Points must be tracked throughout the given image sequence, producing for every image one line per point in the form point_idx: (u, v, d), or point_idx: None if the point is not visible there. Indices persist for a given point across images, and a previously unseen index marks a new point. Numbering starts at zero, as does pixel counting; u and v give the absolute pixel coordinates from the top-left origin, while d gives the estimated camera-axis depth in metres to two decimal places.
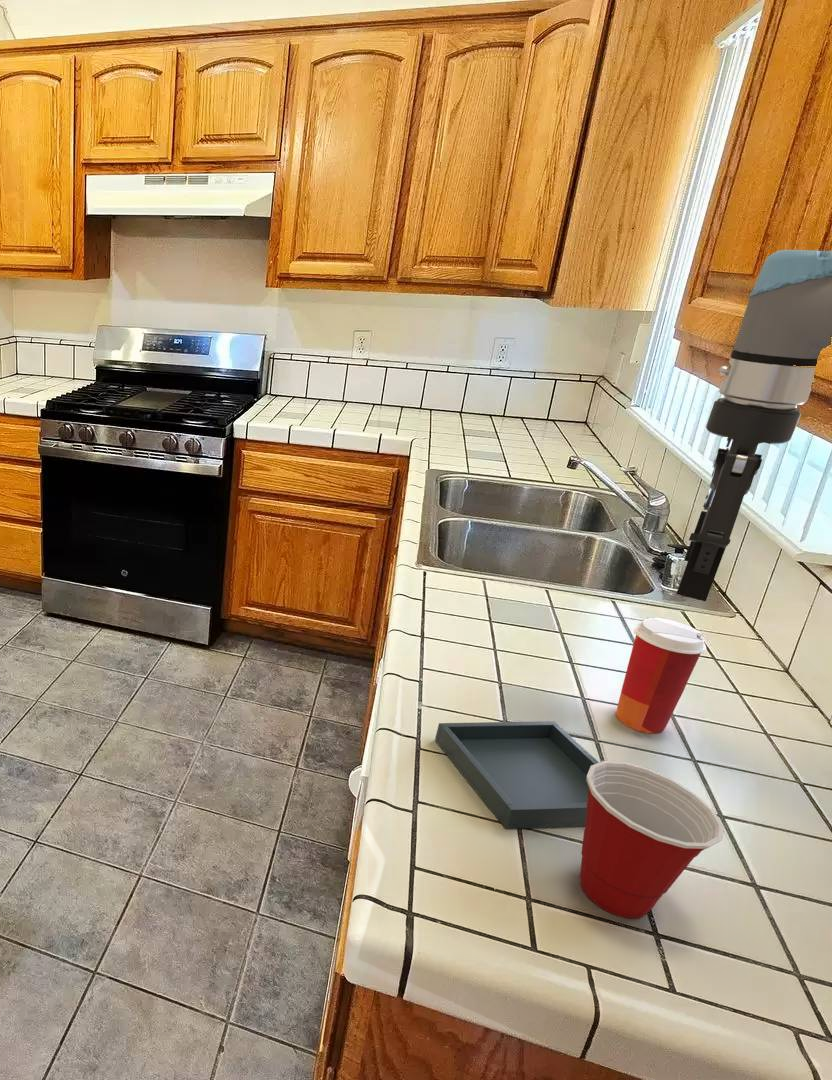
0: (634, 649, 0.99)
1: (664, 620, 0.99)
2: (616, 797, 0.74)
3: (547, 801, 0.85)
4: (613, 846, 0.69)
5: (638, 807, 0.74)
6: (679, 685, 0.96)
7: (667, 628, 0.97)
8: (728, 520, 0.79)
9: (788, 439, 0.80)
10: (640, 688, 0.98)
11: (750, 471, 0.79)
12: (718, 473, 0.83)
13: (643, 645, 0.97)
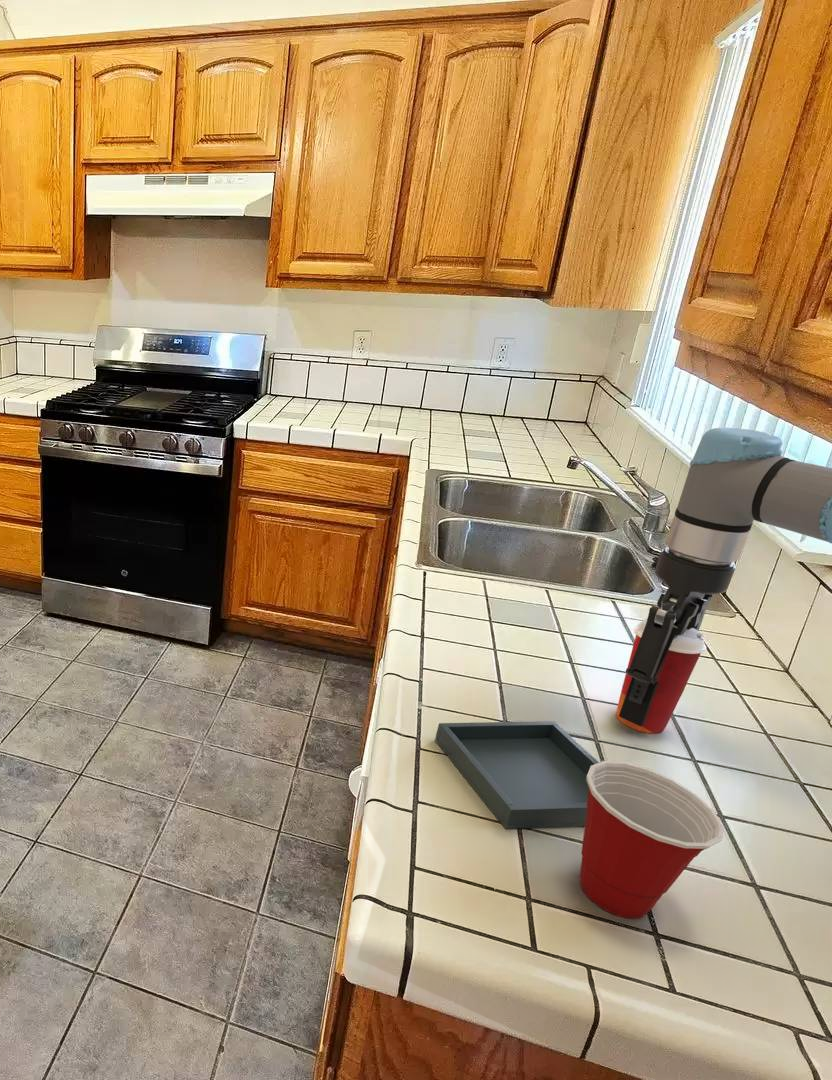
0: (634, 649, 0.99)
1: None
2: (616, 797, 0.74)
3: (547, 801, 0.85)
4: (613, 846, 0.69)
5: (638, 807, 0.74)
6: (680, 685, 0.96)
7: None
8: (649, 663, 0.93)
9: (718, 591, 0.91)
10: None
11: (668, 625, 0.91)
12: None
13: None
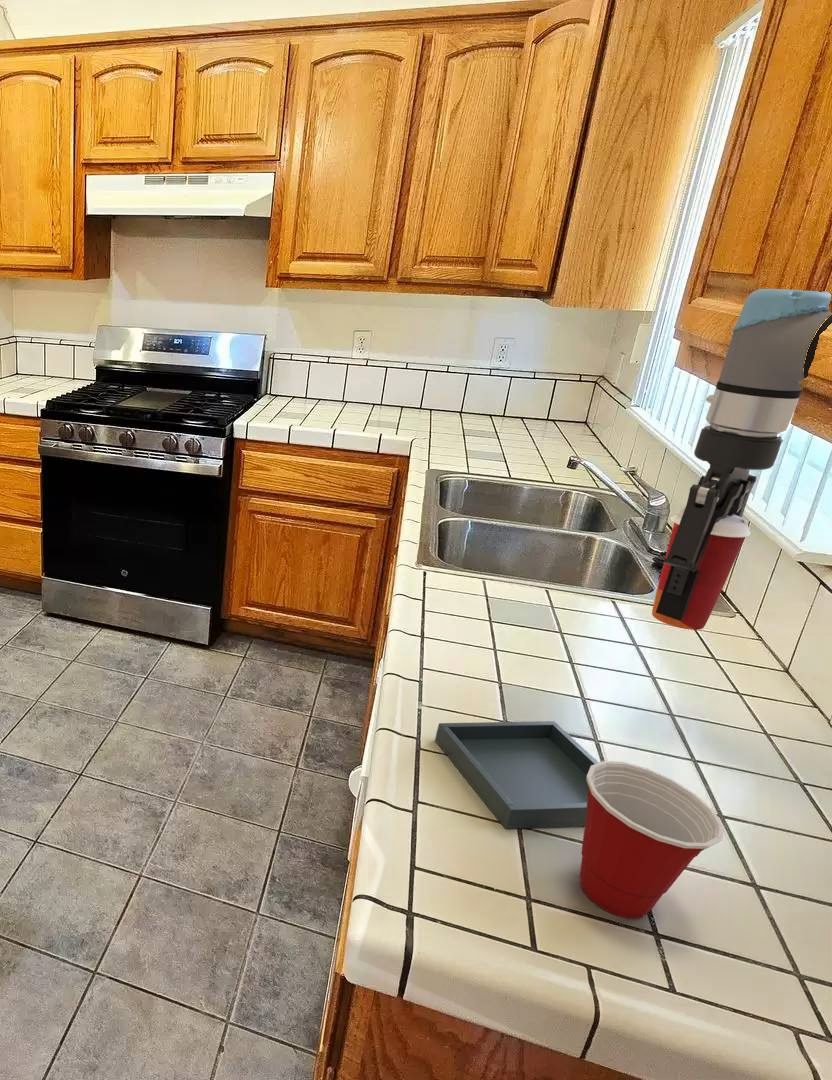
0: (672, 539, 0.93)
1: None
2: (616, 797, 0.74)
3: (547, 801, 0.85)
4: (613, 846, 0.69)
5: (638, 807, 0.74)
6: (722, 574, 0.90)
7: None
8: (690, 547, 0.87)
9: (765, 466, 0.85)
10: None
11: (710, 503, 0.85)
12: None
13: None
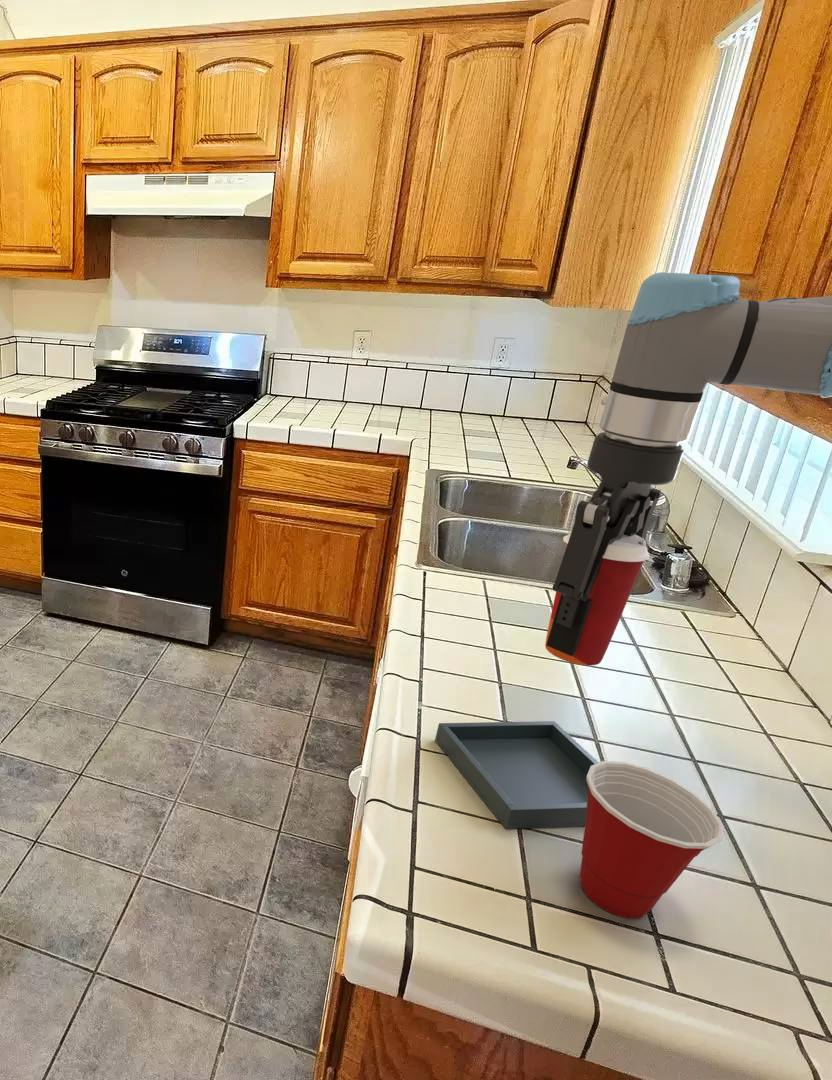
0: None
1: None
2: (616, 797, 0.74)
3: (547, 801, 0.85)
4: (613, 846, 0.69)
5: (638, 807, 0.74)
6: (617, 603, 0.78)
7: None
8: (578, 574, 0.75)
9: (662, 480, 0.73)
10: None
11: (599, 524, 0.73)
12: None
13: None
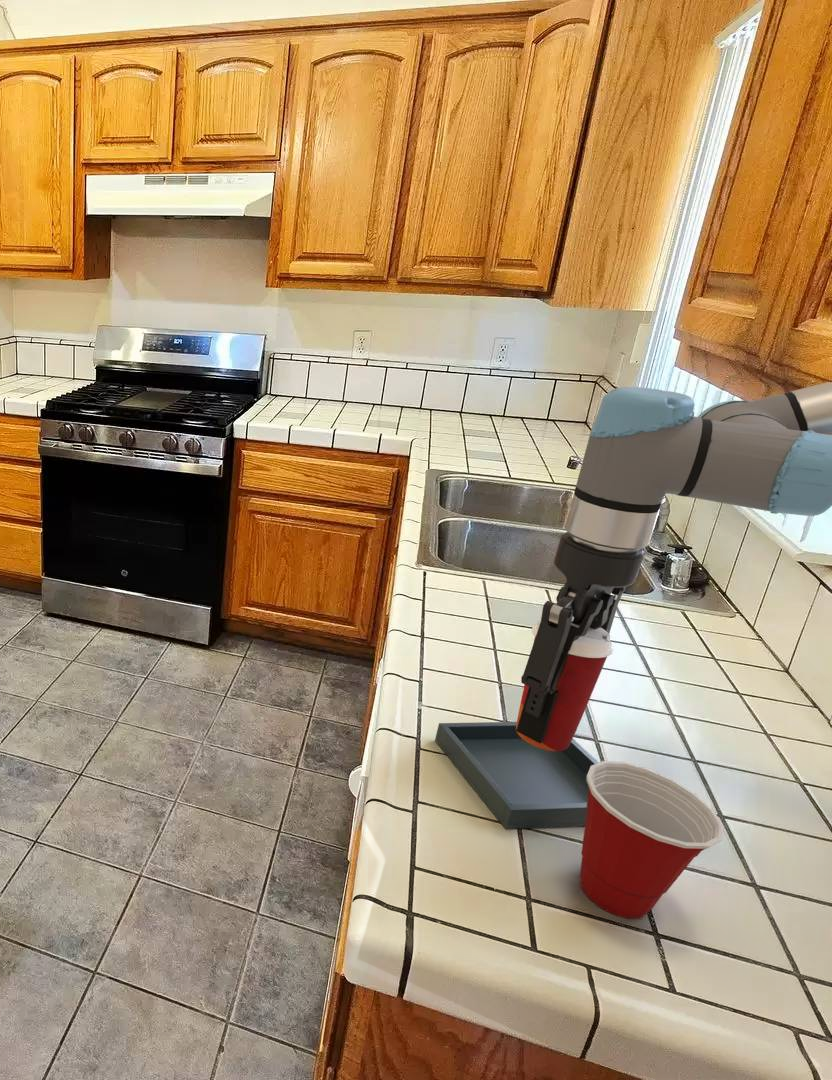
0: None
1: None
2: (616, 797, 0.74)
3: (547, 801, 0.85)
4: (613, 846, 0.69)
5: (638, 807, 0.74)
6: (583, 695, 0.81)
7: None
8: (544, 670, 0.79)
9: (623, 584, 0.76)
10: None
11: (563, 624, 0.76)
12: None
13: None
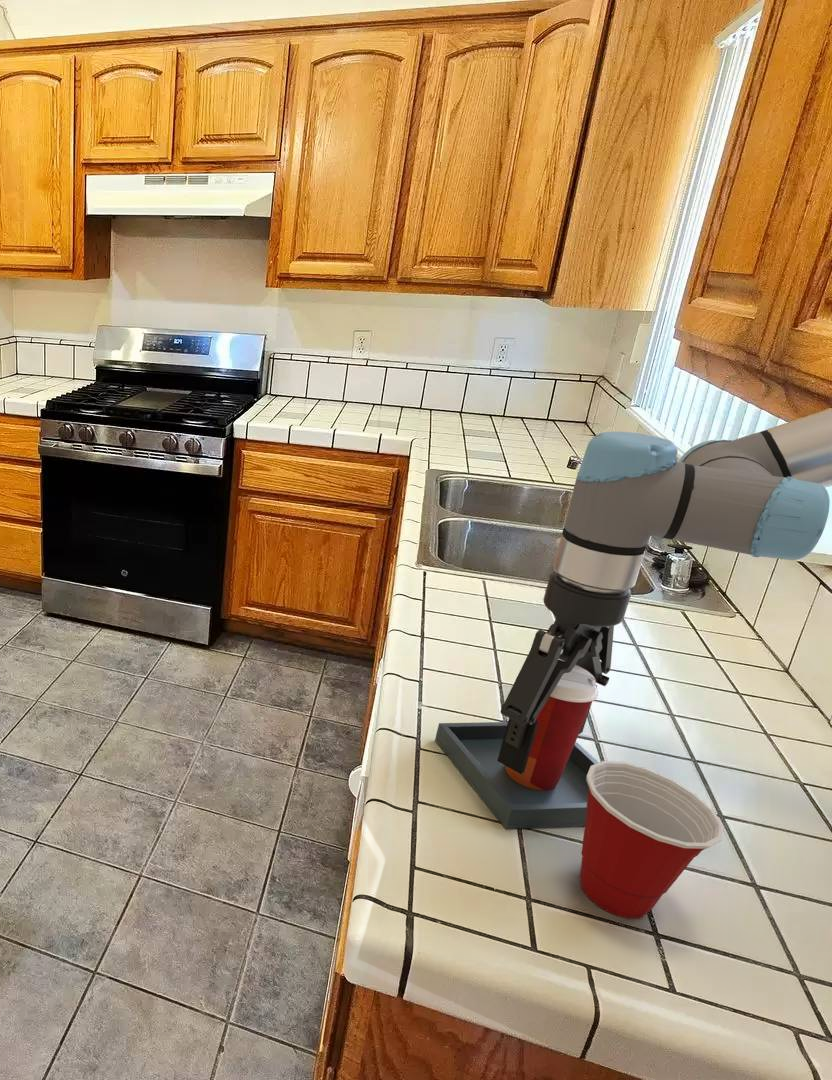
0: None
1: None
2: (616, 797, 0.74)
3: (547, 801, 0.85)
4: (613, 846, 0.69)
5: (638, 807, 0.74)
6: (569, 737, 0.83)
7: None
8: (527, 699, 0.78)
9: (610, 623, 0.77)
10: None
11: (554, 653, 0.77)
12: None
13: None
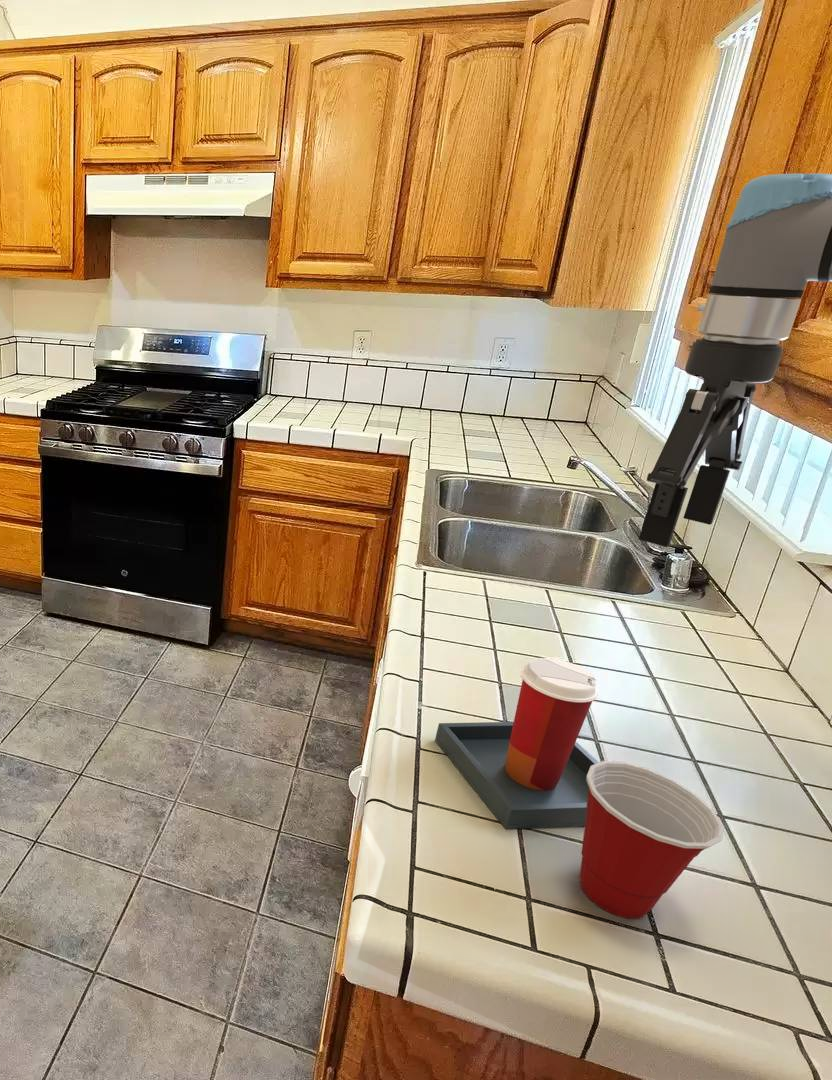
0: (520, 694, 0.86)
1: (555, 660, 0.86)
2: (616, 797, 0.74)
3: (547, 801, 0.85)
4: (613, 846, 0.69)
5: (638, 807, 0.74)
6: (569, 737, 0.83)
7: (556, 671, 0.84)
8: (681, 457, 0.76)
9: (764, 377, 0.76)
10: (526, 739, 0.85)
11: (709, 407, 0.76)
12: None
13: (528, 690, 0.84)
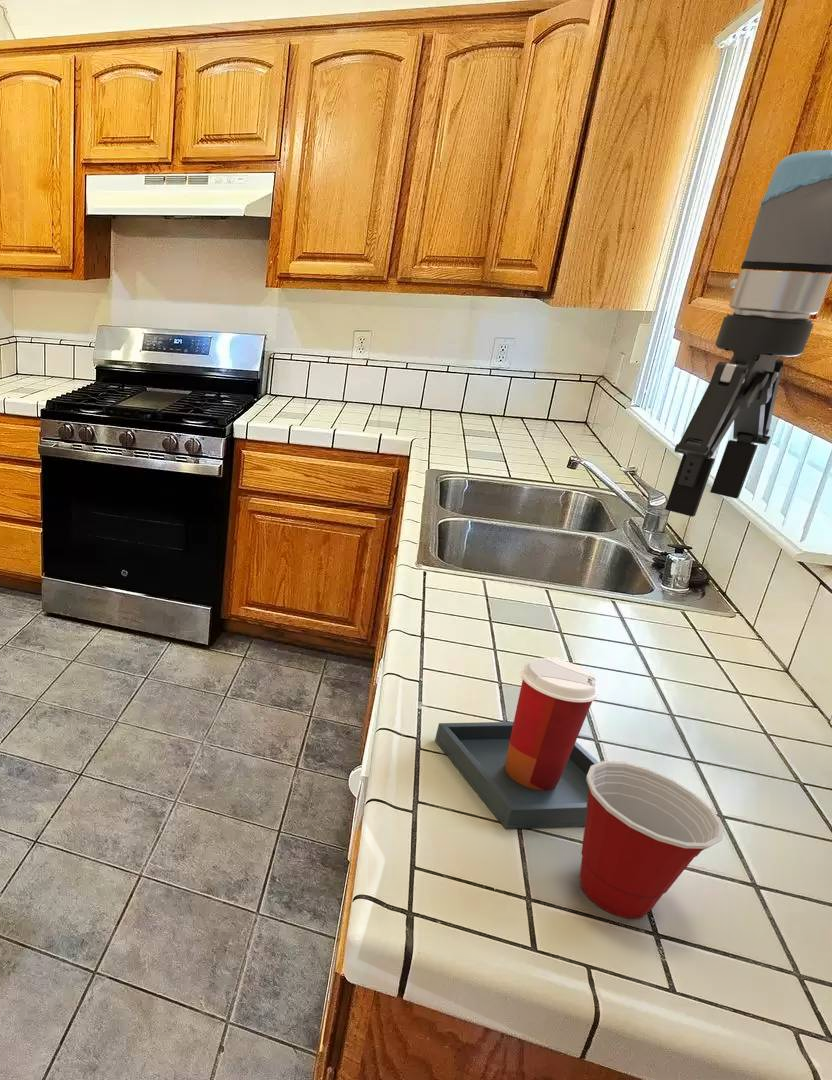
0: (520, 694, 0.86)
1: (555, 660, 0.86)
2: (616, 797, 0.74)
3: (547, 801, 0.85)
4: (613, 846, 0.69)
5: (638, 807, 0.74)
6: (569, 737, 0.83)
7: (556, 671, 0.84)
8: (708, 428, 0.79)
9: (794, 351, 0.78)
10: (526, 739, 0.85)
11: (738, 379, 0.78)
12: None
13: (528, 690, 0.84)
